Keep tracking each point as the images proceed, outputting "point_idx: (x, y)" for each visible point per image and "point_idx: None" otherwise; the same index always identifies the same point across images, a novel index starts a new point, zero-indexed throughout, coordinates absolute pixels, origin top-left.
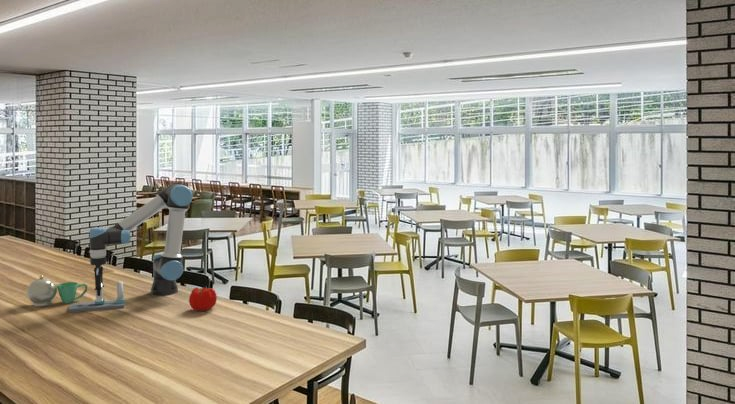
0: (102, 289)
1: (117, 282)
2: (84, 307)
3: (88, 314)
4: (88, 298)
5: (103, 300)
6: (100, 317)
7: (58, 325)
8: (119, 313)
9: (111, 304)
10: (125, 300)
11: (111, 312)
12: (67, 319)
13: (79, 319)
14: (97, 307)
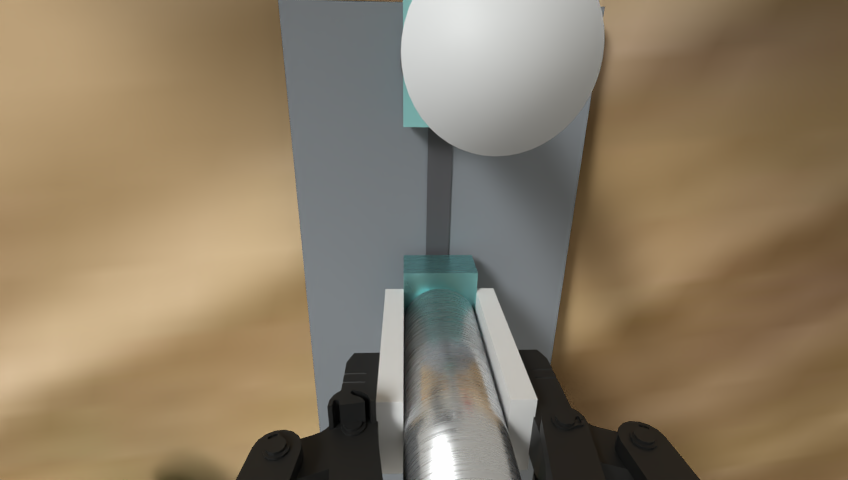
0: (451, 379)
1: (468, 141)
2: None
3: (662, 340)
4: (61, 409)
5: (476, 277)
6: (832, 234)
7: (844, 477)
8: (807, 53)
9: (500, 171)
10: (286, 1)
11: (711, 147)
12: (723, 453)
13: (779, 382)
14: (559, 300)
